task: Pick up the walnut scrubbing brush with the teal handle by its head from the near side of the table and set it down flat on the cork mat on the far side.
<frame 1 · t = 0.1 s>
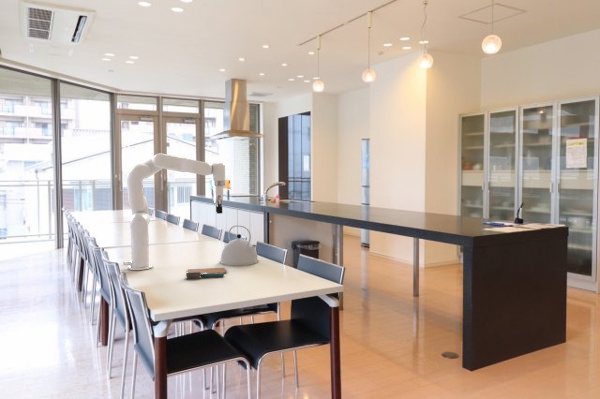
hand: (219, 212, 271), 31 cm above the table, tool pointing down, fingers open, 9 cm apart
kettle: (240, 262, 282), on the table
brush: (193, 278, 238), on the table
cork mat: (206, 272, 253), on the table
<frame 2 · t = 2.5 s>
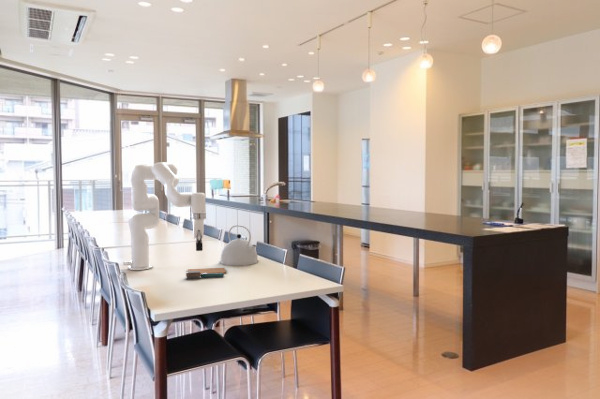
hand: (199, 249, 238), 15 cm above the table, tool pointing down, fingers open, 9 cm apart
nothing on the table moved.
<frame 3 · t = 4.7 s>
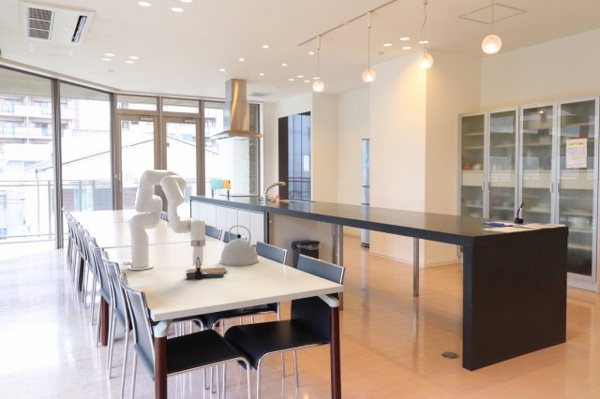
hand: (198, 277, 238), 0 cm above the table, tool pointing down, fingers closed on brush, 4 cm apart
brush: (193, 278, 238), on the table, touching gripper
everything else where it was.
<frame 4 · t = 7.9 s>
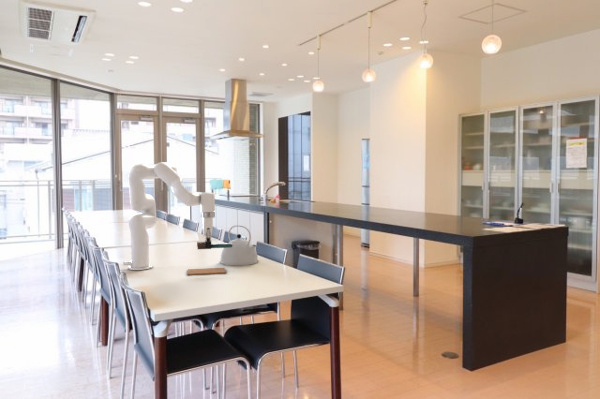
hand: (208, 247, 251), 14 cm above the table, tool pointing down, fingers closed on brush, 4 cm apart
brush: (203, 248, 251), point 13 cm above the table, touching gripper
everything else where it was.
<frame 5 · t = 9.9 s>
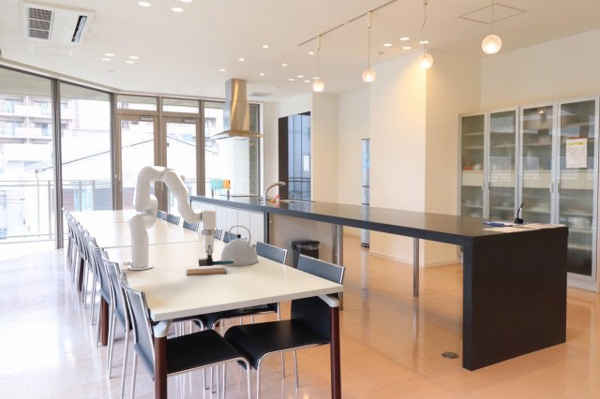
hand: (209, 264, 253), 4 cm above the table, tool pointing down, fingers closed on brush, 4 cm apart
brush: (205, 265, 252), point 4 cm above the table, touching gripper
everything else where it was.
when the fingers open (1 cm above the table, at t = 11.1 s): brush stays where it is, resting on cork mat.
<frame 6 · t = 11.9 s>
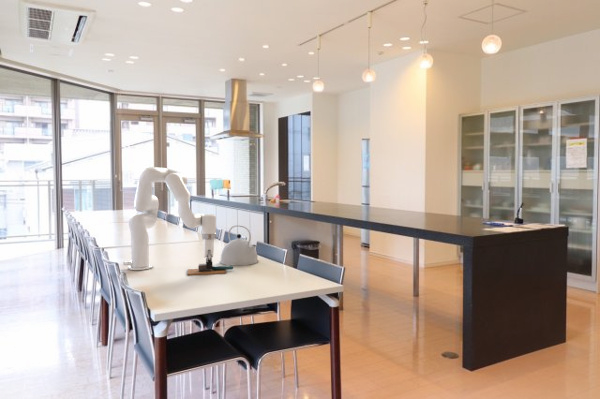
hand: (209, 267, 253), 3 cm above the table, tool pointing down, fingers open, 9 cm apart
brush: (205, 270, 253), point 1 cm above the table, touching cork mat
everything else where it was.
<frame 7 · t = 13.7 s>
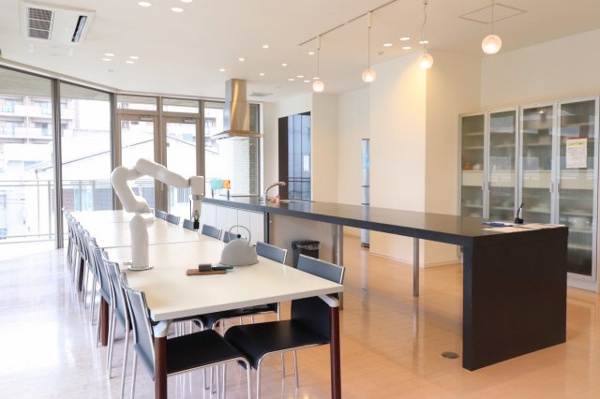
hand: (196, 228, 258), 24 cm above the table, tool pointing down, fingers open, 9 cm apart
nothing on the table moved.
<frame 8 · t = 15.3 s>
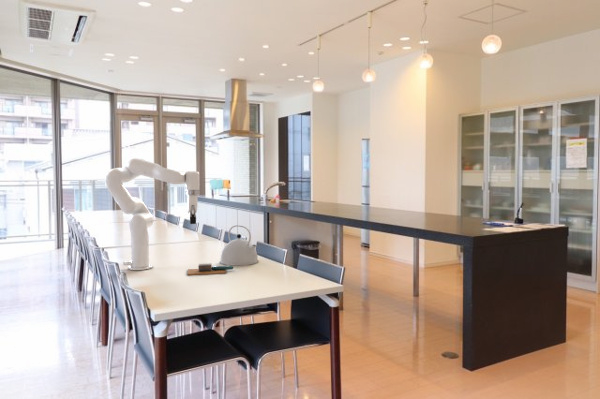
hand: (193, 223, 261), 26 cm above the table, tool pointing down, fingers open, 9 cm apart
nothing on the table moved.
at the end: brush inside the target area (0.4 cm from its centre), point 0.8 cm above the table; brush tilted 0°; the gripper is holding nothing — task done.
